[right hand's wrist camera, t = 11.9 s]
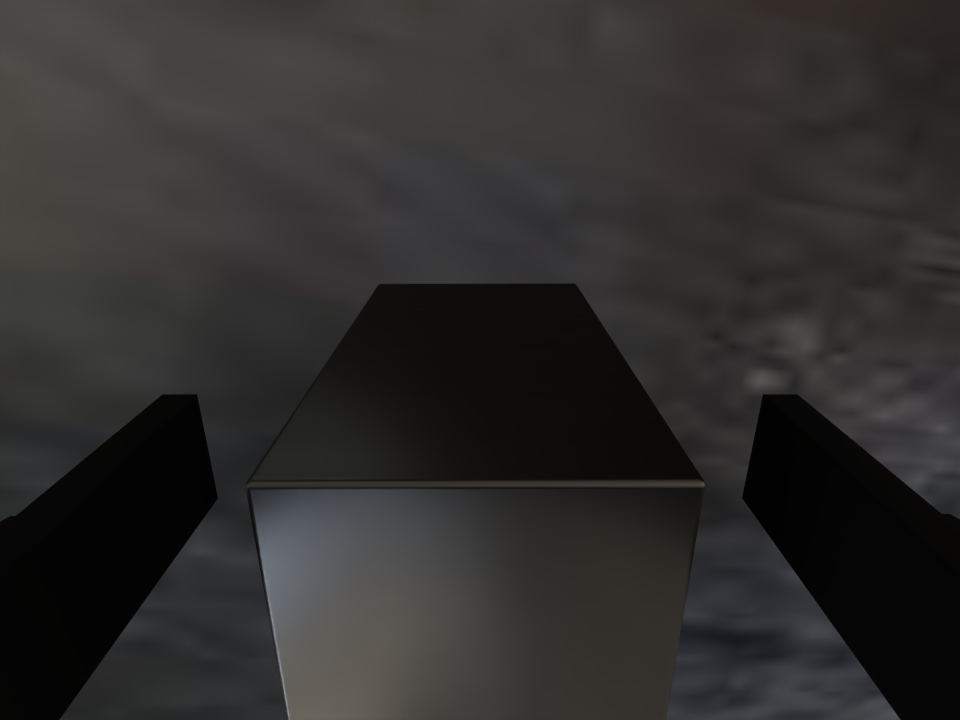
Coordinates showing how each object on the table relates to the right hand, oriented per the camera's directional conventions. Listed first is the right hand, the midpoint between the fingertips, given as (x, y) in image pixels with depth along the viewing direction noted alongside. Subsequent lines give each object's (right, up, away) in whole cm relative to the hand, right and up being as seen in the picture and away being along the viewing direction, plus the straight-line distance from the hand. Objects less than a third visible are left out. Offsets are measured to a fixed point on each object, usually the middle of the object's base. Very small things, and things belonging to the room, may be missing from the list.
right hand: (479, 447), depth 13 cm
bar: (0, -8, +6) cm, 11 cm away
